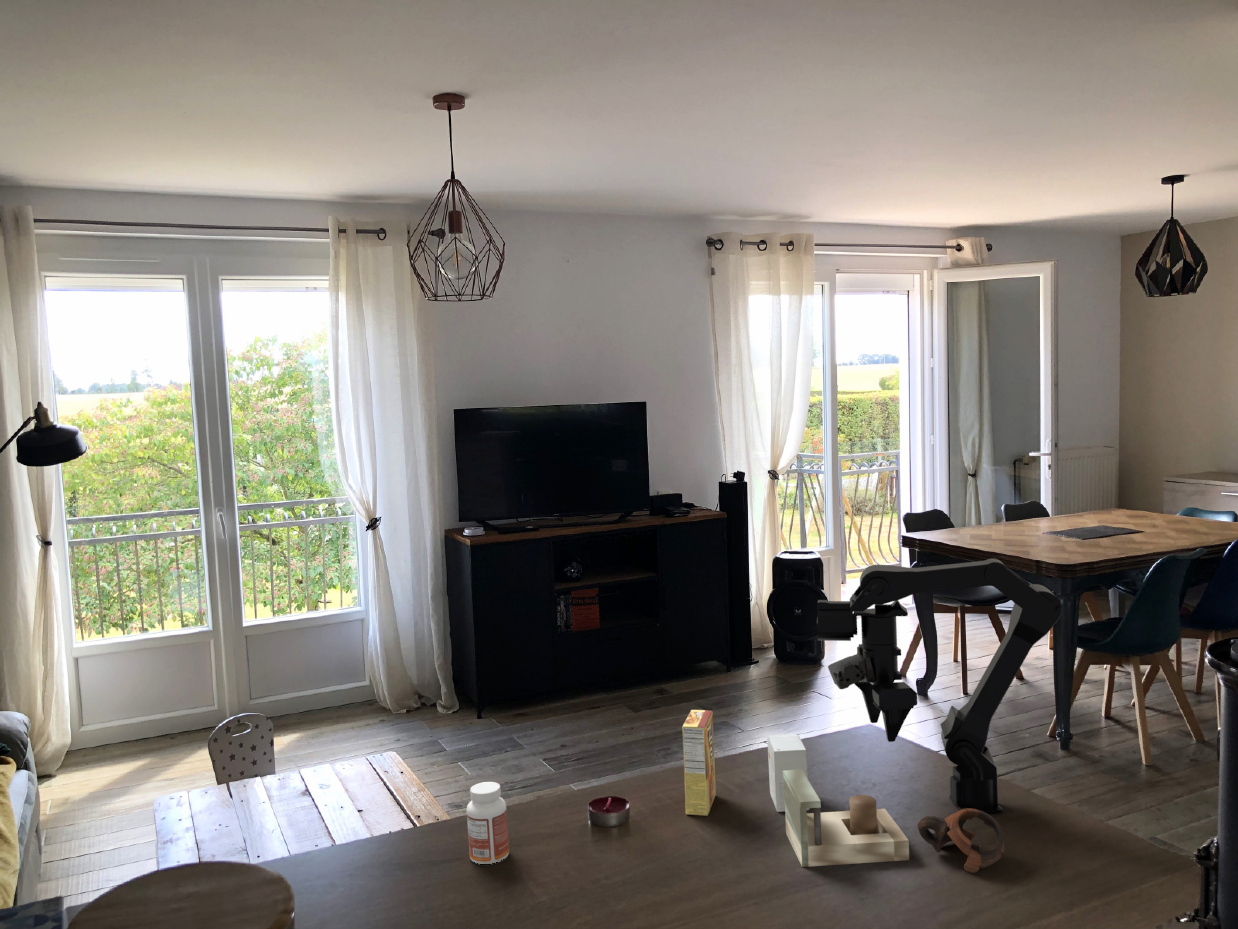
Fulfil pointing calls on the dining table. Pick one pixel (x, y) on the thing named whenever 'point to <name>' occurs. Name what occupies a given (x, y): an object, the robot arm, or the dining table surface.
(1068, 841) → the dining table surface
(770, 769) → the small box
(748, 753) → the dining table surface
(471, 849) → the pill bottle
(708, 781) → the candy box
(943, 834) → the pottery mug
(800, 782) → the shelter
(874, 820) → the peg
